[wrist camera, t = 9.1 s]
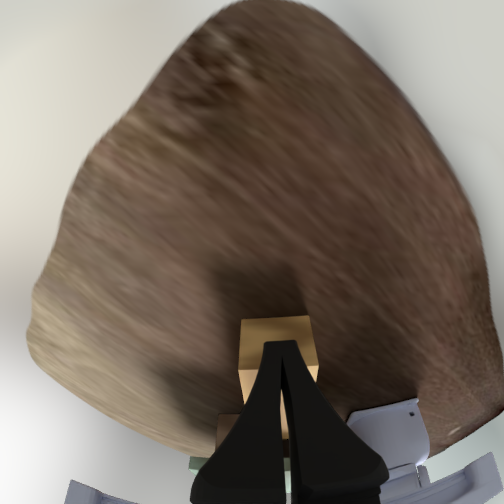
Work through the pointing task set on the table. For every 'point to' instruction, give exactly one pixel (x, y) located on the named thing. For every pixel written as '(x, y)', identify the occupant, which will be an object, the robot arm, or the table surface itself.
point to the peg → (273, 330)
